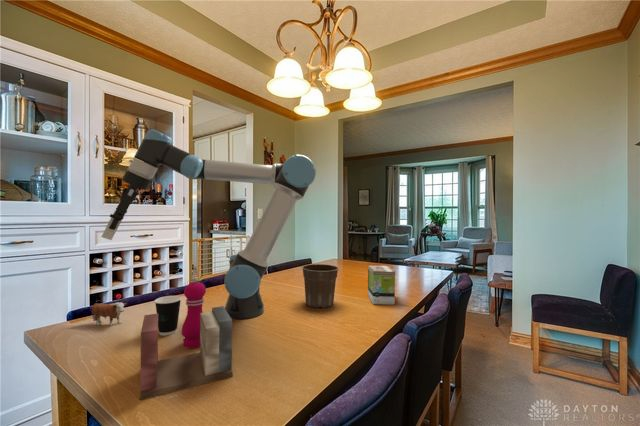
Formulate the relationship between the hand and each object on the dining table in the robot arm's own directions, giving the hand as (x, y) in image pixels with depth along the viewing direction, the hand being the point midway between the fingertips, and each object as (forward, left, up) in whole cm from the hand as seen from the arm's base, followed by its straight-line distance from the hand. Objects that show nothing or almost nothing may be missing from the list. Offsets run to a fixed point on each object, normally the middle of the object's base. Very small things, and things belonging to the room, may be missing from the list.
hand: (108, 233), depth 93 cm
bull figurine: (+1, -10, -33) cm, 34 cm away
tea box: (-104, +10, -33) cm, 110 cm away
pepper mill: (-24, +20, -33) cm, 45 cm away
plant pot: (-76, +3, -33) cm, 83 cm away
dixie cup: (-17, +7, -33) cm, 38 cm away
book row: (-21, +36, -33) cm, 53 cm away
